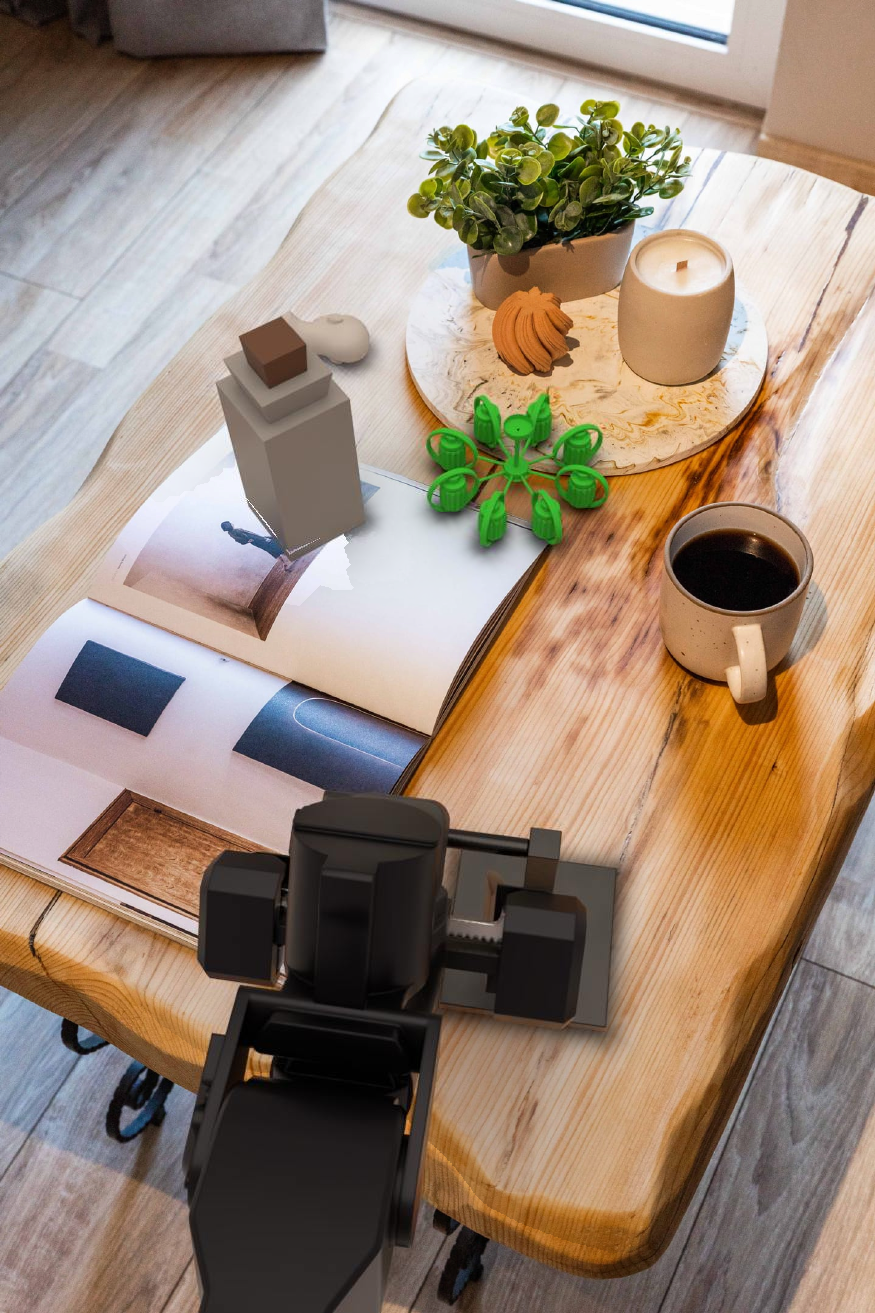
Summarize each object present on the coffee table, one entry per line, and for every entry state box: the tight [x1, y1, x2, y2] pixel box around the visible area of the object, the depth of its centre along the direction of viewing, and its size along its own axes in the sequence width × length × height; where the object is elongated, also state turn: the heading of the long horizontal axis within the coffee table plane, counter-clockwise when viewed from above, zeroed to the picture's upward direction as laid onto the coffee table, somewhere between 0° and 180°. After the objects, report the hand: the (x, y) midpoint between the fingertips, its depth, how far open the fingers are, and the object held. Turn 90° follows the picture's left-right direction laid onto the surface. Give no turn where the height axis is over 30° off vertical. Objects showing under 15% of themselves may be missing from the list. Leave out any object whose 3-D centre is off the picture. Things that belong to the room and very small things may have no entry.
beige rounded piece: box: [281, 311, 371, 365], centre depth 96 cm, size 4×8×5 cm
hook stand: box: [293, 808, 618, 1033], centre depth 63 cm, size 10×18×16 cm, turn 82°
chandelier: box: [425, 392, 610, 548], centre depth 86 cm, size 15×15×7 cm
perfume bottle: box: [215, 315, 366, 563], centre depth 80 cm, size 7×7×18 cm
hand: (414, 868), depth 63 cm, fingers open, 8 cm apart
